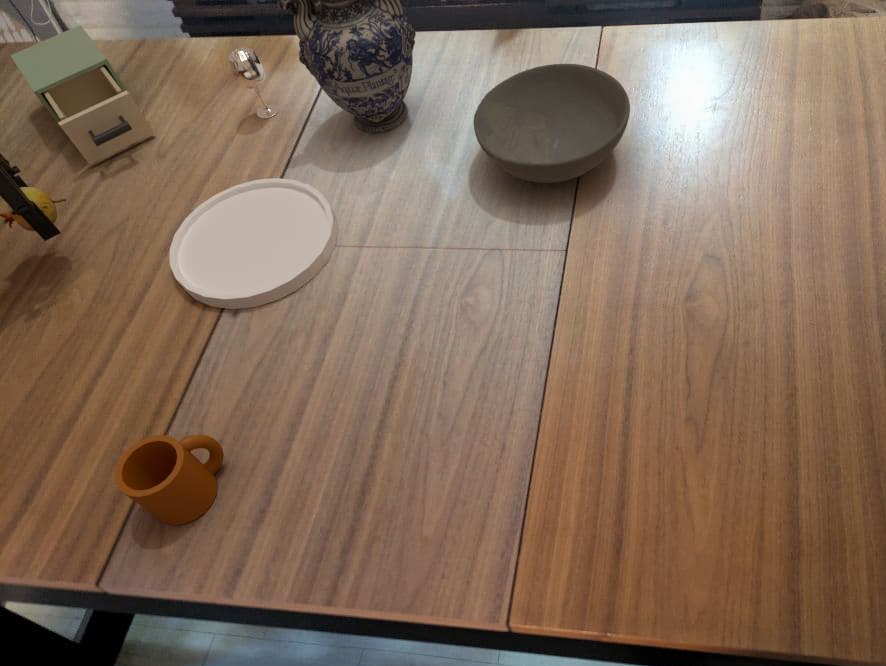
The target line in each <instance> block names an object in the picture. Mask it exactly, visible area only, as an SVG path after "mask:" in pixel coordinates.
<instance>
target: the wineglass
mask: <svg viewBox="0 0 886 666" xmlns="http://www.w3.org/2000/svg"><path fill="white" fill-rule="evenodd" d="M228 62H229V66H230V69H231V73H232V74H233V77H234V79H235V81H236V82H237V84H239V85H240V87H242V88H244V89H247V90H253V89H254V91H255V94H256V95H257V96H258V98H259V99H260V101H261V103H262V106H260V107H259V108H258V109H257V110H256V116H257V117H258V118H259V119H264V120H266V119H270V118H272V117H274V116H276V115H277V114H278V113H279V110H280V109H279V106H278V105H276V104H274V103H268V104H266V102H265V100H264V98H263V94H262V90H261V88H260V87H262V86H263V84H264V83H265V82H266V77H267V74H266V70H265V67H264V65H263V63H262V61H261V60H260V58H259V57H258V55H257V53H256V52H255V51H254V50H253V49H252V48H250V47H240V48H236V49H234V50H233V51H231V52H230V53H229V55H228Z"/></svg>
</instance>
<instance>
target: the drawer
mask: <svg viewBox="0 0 886 666" xmlns="http://www.w3.org/2000/svg"><path fill="white" fill-rule="evenodd" d="M128 92H129V90H128V89H127V90H126V91H124V92H123V91H122V90H121V89H120V87H119V86H118V85H117V83H116V82H115V81H114V80H113V78H112V77H111V76H110V74H109V73H108V72H107V70H106V69H105V68H104V66H103V65H102V66H100V67H98V68H96V69H94V70H91V71H89V72H87V73H85V74H83V75H80V76H78V77H76V78H74V79H72V80H69V81H67V82H65V83H63V84H61V85H58V86H56V87H54V88H52V89H50V90H47V91H45V92H43V93H44V95H45V96H46V98H47V99H48V101H49V102H50V104H51V106H52V107H53V109H54V110H55V112H56V113H57V115H58V116H59V118H60V119H61V121H60V122H58V123H57V124H58V126H59V127H60V128H61V129H62V131H63V132H64V134H65V135H66V136H67V137H68V139H69V140H70V141H71V143H72V144H73V145H74V147H76V149H77V150H78V152H79V153H80V154H81V155H82V157H83V158H84V159H85V160H86V162H87V163H88V164H89V165H92V164H95V163H97V162H98V161H101V160H103V159H105V158H107V157H109V156H111V155H113V154H115V153H117V152H119V151H121V150H123V149H126V148H127V147H129V146H132V145H133V144H135V143H137V142H139V141H142V140H143V139H146V138H147V137H150V136H151V135H154V134H155V131H154V129H153V128H152V127H151V125H150V123H149V122H148V120H147V118H146V117H145V115H144V114H143V113H142V111H141V109H140V108H139V107H138V105H137V103H136V102H135V100H134V98H133V97H132V96H130V95H131V94H130V92H129V93H128ZM132 98H133V99H132Z"/></svg>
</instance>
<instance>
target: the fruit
mask: <svg viewBox="0 0 886 666" xmlns="http://www.w3.org/2000/svg"><path fill="white" fill-rule="evenodd" d="M20 189H21V190H22V191H23V192H24V194H25V195H26V196H27V197H28V198H29V200H31V201H33V202H34V203H35V204H36V205H37V206H38V207H39V208H40V210H41V211H42V212H43V213H44V214H45V215H46V216H47V217H48V218H49V219H50V221H51V222H52V223H53V224H54V223H56V221H57V218H58V211H57V207H56V205H55V204H56V203H57V204H58V203H62V202H67V198H60V199H58V200H57V199H55V200H53V199H52V198H51V197H50V196H49V195H48V194H47V193H46V192H44V191H43V190H41V189H39V188H37V187H33V186H29V187H21V188H20ZM7 205H8V204H7ZM8 209H9V212H3V213H1V212H0V217H2V218H4V221H3V223H4V224H7V223H8V226H9V228H10V229H13V228H12V225H13V224H14V222H16V223H17V224H18V225H19V226H20V227H21V228H22V229H24V230H26V231H28V232H36V231H35V230H34V229H33V228H32V227H31V226H30V225H29V224H28V223H27V222H26V220H25V219H24V218H23V217H22V216H21V215H20V216H18V215H17V214H16V215H13V214H12V213H11V211H12V210H13V209H12V208H11V207H10V206H9V205H8Z"/></svg>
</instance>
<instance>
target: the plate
mask: <svg viewBox="0 0 886 666" xmlns="http://www.w3.org/2000/svg"><path fill="white" fill-rule="evenodd" d="M338 231H339V229H338V225H337V219H336V215H335V214H334V211H333V209H332V206H331V205H330V203H329V201H328V200H327V199H326V197H325V196H324V194H323V193H322V192H321V191H319V190H317V189H316V188H314V187H313V186H312V185H310V184H307V183H304V182H302V181H299V180H296V179H288V178H280V177H279V178H277V177H274V178H273V177H272V178H271V177H270V178H262V179H254V180H250V181H247V182H243V183H240V184H236V185H233V186H231V187H229V188H227V189H225V190H222V191H220V192H218V193H216V194H214V195H213V196H211V197H210V198H208V199H207V200H205V201H203V202H202V203H201V204H199V205H198V206H196V207H195V208H194V210H193V211H191V212H190V213H189V215H187V216H186V217H185V218H184V219H183V221H182V223H181V224H180V226H179V227H178V229H177V230H176V231H175V233H174V235H173V237H172V242H171V244H170V248H169V252H168V253H169V254H168V255H169V267H170V269H171V271H172V273H173V276H174V278H175V280H176V281H177V282H178V283H179V285H180V286H181V287H182V289H183V290H184V291H185V292H187V294H189V295H190V297H192V298H193V299H194V300H196V301H198V302H200V303H203V304H205V305H207V306H210V307H211V308H212V307H213V308H219V309H228V310H237V309H239V310H240V309H249V308H256V307H259V306H263V305H267V304H269V303H270V304H271V303H273V302H277V301H279V300H280V299H282V298H284V297H286V296H289V295H291V294H293V293H294V292H297V291H298V290H299V289H301V288H302V287H304V286H305V285H306V284H307V283H308V282H310V281H311V280H313V279H314V278H315V277H316V276H317V275H318V274H319V272H320V271H322V269H323V268H324V267H325V266H326V264H327V263H328V262H329V260H330V258H331V256H332V254H333V252H334V250H335V248H336V246H337V239H338V233H339V232H338Z"/></svg>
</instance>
